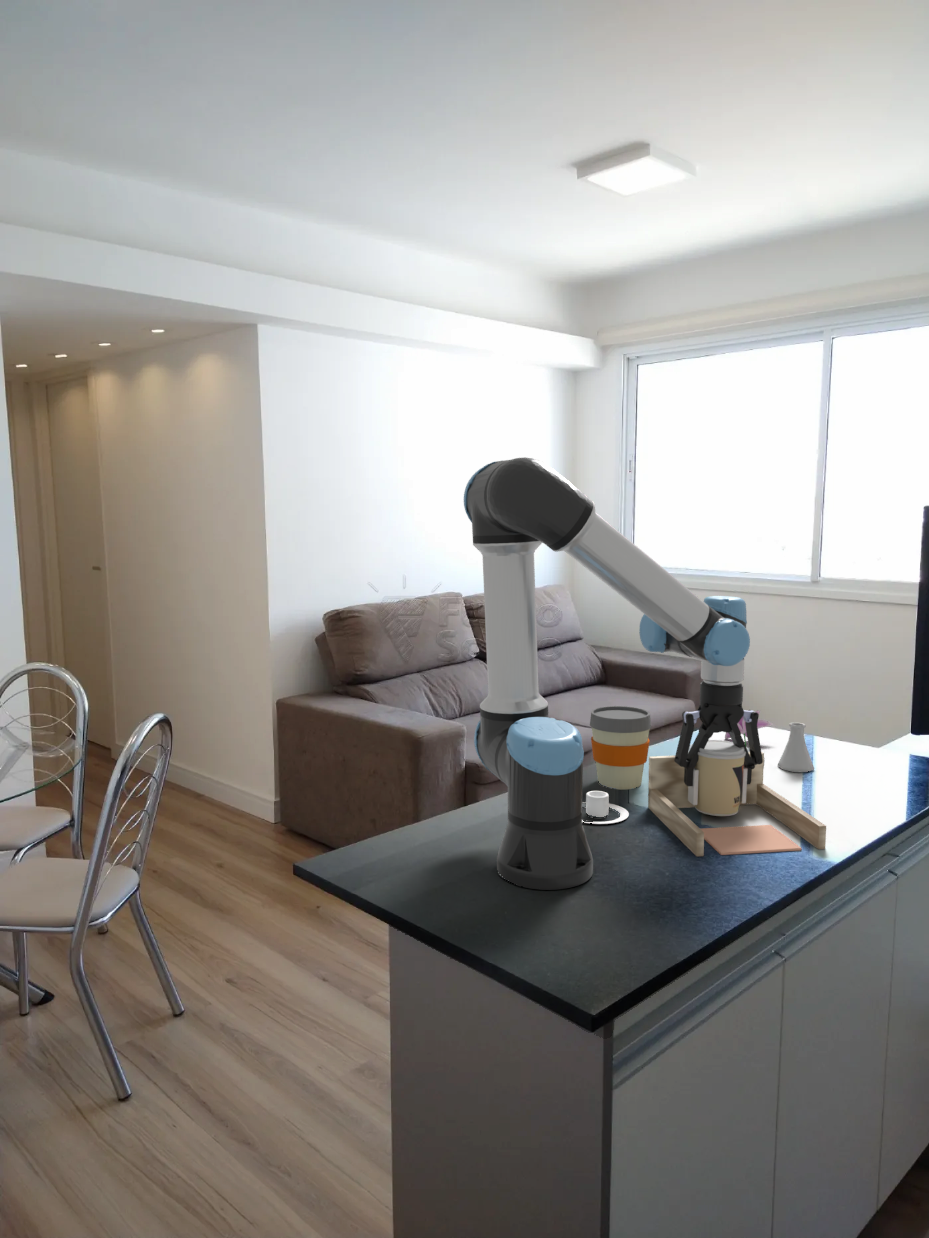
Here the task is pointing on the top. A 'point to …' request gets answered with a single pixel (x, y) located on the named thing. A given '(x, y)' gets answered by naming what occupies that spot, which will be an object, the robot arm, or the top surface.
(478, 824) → the top surface
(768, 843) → the front mat
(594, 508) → the robot arm
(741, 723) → the lily
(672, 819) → the bay
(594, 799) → the candle holder
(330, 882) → the top surface
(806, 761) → the flask
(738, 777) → the coffee cup
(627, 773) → the reusable coffee cup
